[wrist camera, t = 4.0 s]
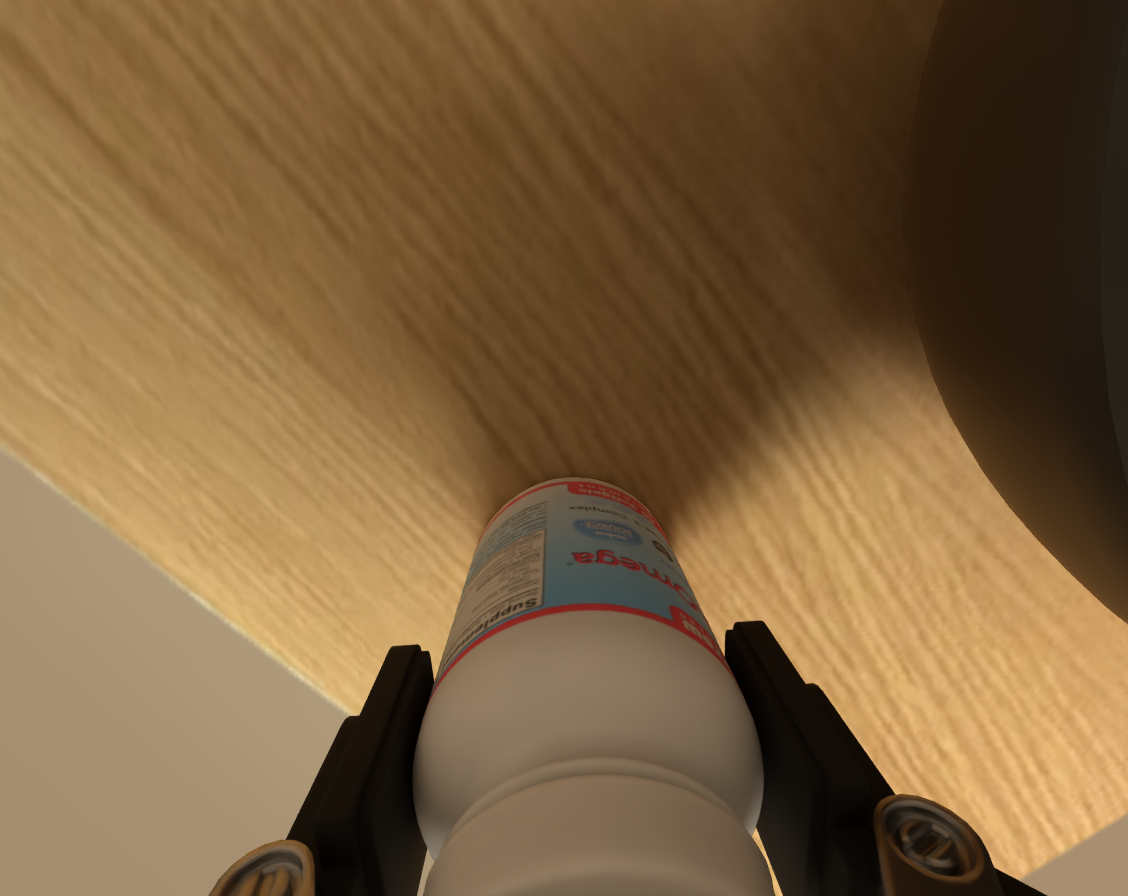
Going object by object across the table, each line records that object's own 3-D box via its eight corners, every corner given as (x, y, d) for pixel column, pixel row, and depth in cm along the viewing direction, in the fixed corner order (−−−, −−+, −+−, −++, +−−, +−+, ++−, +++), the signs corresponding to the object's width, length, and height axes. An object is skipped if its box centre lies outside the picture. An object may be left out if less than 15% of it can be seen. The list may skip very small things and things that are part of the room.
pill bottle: (704, 565, 17) (975, 1017, 6) (564, 678, 18) (590, 1239, 7) (577, 429, 16) (643, 709, 5) (432, 559, 17) (226, 1028, 6)
